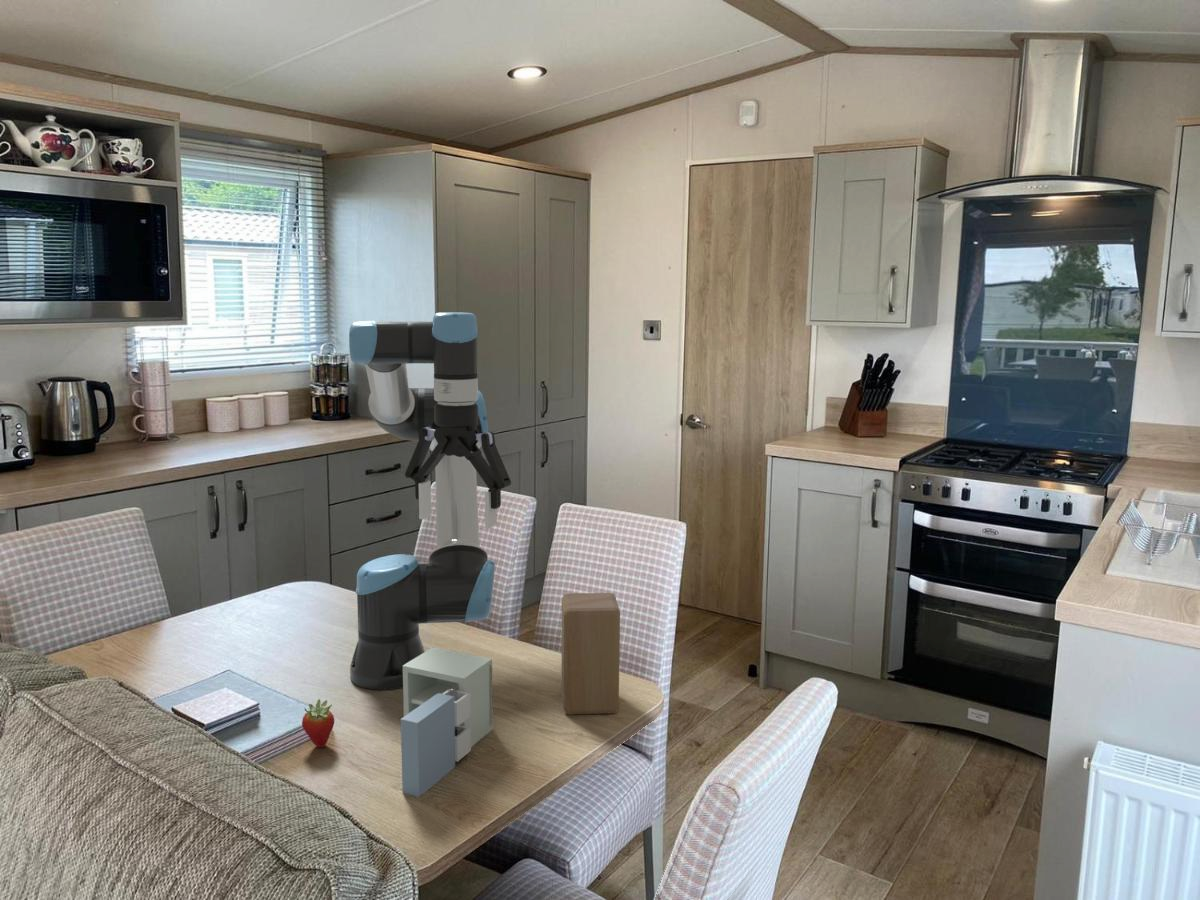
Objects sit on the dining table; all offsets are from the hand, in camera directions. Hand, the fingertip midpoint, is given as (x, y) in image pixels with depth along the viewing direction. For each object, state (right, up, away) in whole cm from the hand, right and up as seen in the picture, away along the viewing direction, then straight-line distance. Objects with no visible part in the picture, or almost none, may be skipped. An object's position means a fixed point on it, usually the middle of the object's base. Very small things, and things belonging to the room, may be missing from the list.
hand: (457, 522), depth 165 cm
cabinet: (-1, -36, -4) cm, 36 cm away
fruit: (-22, -37, -9) cm, 44 cm away
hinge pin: (+1, -38, -13) cm, 40 cm away
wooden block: (+23, -34, +8) cm, 42 cm away
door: (-1, -38, -17) cm, 42 cm away
